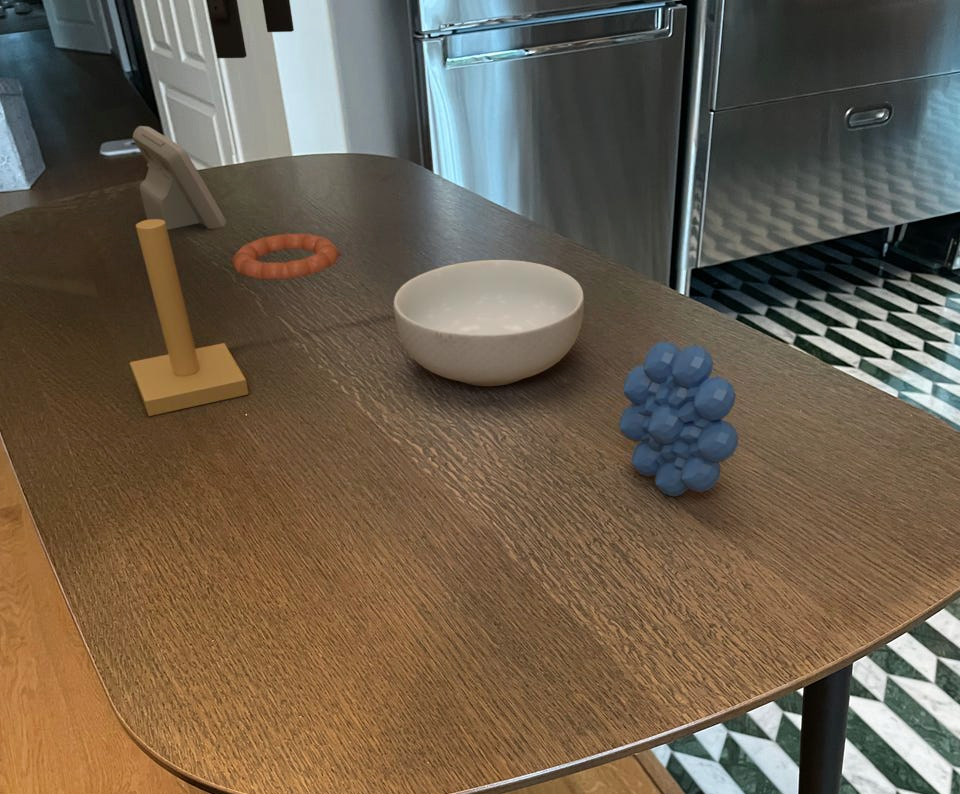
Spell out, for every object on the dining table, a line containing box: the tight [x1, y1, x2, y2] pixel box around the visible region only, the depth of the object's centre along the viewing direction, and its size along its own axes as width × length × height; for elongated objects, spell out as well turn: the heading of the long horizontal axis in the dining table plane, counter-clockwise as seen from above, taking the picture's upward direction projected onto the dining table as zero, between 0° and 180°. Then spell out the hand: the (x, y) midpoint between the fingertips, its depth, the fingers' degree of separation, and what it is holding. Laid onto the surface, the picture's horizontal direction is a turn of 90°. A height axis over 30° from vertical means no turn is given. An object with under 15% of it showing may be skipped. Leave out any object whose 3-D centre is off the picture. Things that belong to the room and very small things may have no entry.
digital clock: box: [132, 125, 228, 231], centre depth 126 cm, size 16×9×11 cm, turn 20°
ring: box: [231, 233, 340, 280], centre depth 114 cm, size 12×12×2 cm
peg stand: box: [129, 219, 250, 417], centre depth 88 cm, size 9×9×14 cm
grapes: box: [618, 340, 739, 497], centre depth 71 cm, size 12×7×12 cm, turn 31°
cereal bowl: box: [393, 259, 585, 387], centre depth 90 cm, size 17×17×7 cm
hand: (257, 44), depth 101 cm, fingers open, 13 cm apart
